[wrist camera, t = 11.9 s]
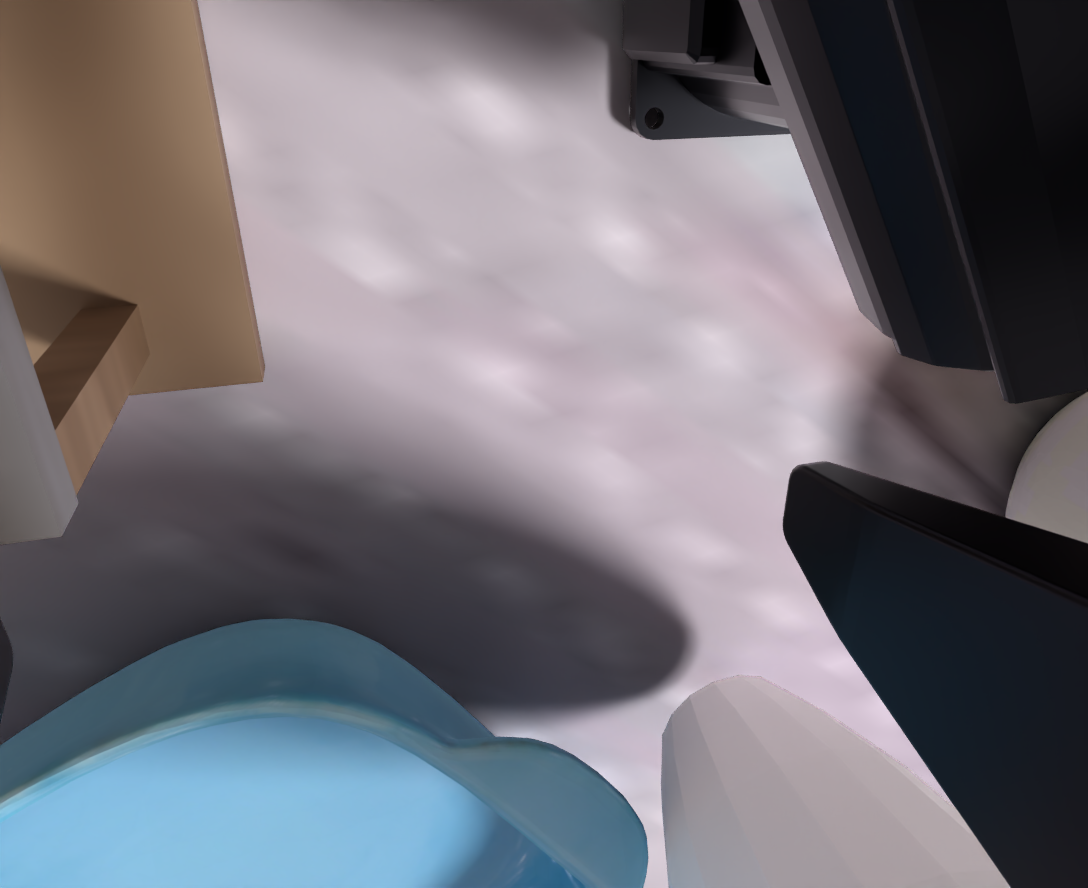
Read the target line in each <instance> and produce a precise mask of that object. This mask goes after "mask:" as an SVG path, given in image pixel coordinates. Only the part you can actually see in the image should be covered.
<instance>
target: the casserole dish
mask: <svg viewBox="0 0 1088 888" xmlns="http://www.w3.org/2000/svg"><path fill="white" fill-rule="evenodd" d="M647 865H648V847H647V837H646V833H645V830H644V827H643V824H642V823H641V821H640V819H639V818H638V816H637V814H636V813H635V811H634V810H633V808H632V807H631V806H630V804H629V803H628V801H627V800H626V799H625V797H624V796H623V795H622V794H621V793H620V792H619V791H618V790H617V789H616V788H614V787H613V786H612V785H611V784H610V783H609V782H608V781H607V780H606V779H605V778H603V777H602V776H601V775H600V774H599V773H598V772H597V771H595V770H594V769H593V768H591V767H590V766H588V765H587V764H586V763H584V762H583V761H581V760H580V759H578V758H577V757H576V756H574V755H572V754H570V753H568V752H567V751H565V750H563V749H561V748H559V747H557V746H555V745H553V744H549V743H546V742H542V741H539V740H535V739H530V738H516V737H495V736H494V735H493V734H492V733H491V732H489V731H488V730H487V729H486V728H485V727H484V726H483V725H482V724H481V723H480V722H479V721H478V720H477V719H475V718H474V717H473V716H472V715H471V714H470V713H469V712H468V711H467V710H466V709H465V708H464V707H462V706H461V705H460V704H459V703H458V702H457V701H456V700H455V699H454V698H452V697H451V696H450V695H449V694H447V693H446V692H445V691H444V690H442V689H441V688H440V687H439V686H438V685H436V684H435V683H434V682H433V681H431V680H430V679H429V678H428V677H426V676H425V675H424V674H423V673H422V672H420V671H419V670H418V669H417V668H415V667H414V666H413V665H411V664H410V663H408V662H407V661H405V660H404V659H402V658H401V657H399V656H398V655H396V654H395V653H393V652H392V651H390V650H389V649H387V648H386V647H384V646H383V645H382V644H380V643H378V642H376V641H374V640H372V639H369V638H367V637H365V636H363V635H361V634H359V633H357V632H355V631H352V630H349V629H346V628H343V627H340V626H337V625H334V624H329V623H324V622H319V621H312V620H301V619H261V620H250V621H246V622H241V623H236V624H231V625H227V626H222V627H219V628H216V629H213V630H210V631H207V632H204V633H201V634H198V635H195V636H192V637H189V638H186V639H184V640H181V641H179V642H176V643H173V644H171V645H168V646H166V647H164V648H162V649H160V650H158V651H156V652H154V653H152V654H150V655H148V656H146V657H144V658H142V659H140V660H138V661H136V662H134V663H132V664H130V665H128V666H127V667H125V668H123V669H121V670H120V671H118V672H116V673H114V674H113V675H111V676H109V677H107V678H105V679H104V680H102V681H100V682H98V683H97V684H95V685H93V686H91V687H90V688H88V689H86V690H85V691H83V692H82V693H80V694H78V695H77V696H75V697H73V698H72V699H70V700H68V701H67V702H65V703H64V704H62V705H61V706H59V707H57V708H56V709H54V710H53V711H51V712H50V713H48V714H47V715H45V716H43V717H42V718H40V719H39V720H37V721H36V722H34V723H33V724H31V725H29V726H28V727H26V728H25V729H23V730H22V731H20V732H19V733H18V734H16V735H15V736H13V737H12V738H10V739H9V740H7V741H6V742H4V743H3V744H2V745H0V888H643V886H644V882H645V878H646V873H647Z"/></svg>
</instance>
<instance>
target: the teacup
mask: <svg viewBox="0 0 1088 888" xmlns="http://www.w3.org/2000/svg"><path fill="white" fill-rule="evenodd" d="M1006 518H1009V519H1012V520H1016V521H1019V522H1022V523H1025V524H1028V525H1032V526H1035V527H1038V528H1041V529H1044V530H1047V531H1051V532H1054V533H1057V534H1060V535H1063V536H1067V537H1070V538H1073V539H1076V540H1079V541H1083V542H1086V543H1088V392H1086V393H1085V394H1083V395H1081V396H1080V397H1078V398H1076V399H1075V400H1073V401H1072V402H1070V403H1069V404H1068V405H1066V406H1065V407H1064V408H1063V409H1061V410H1060V411H1059V412H1058V413H1057V414H1056V415H1054V416H1053V417H1052V418H1051V419H1050V420H1049V422H1048V423H1047V424H1046V425H1045V426H1044V427H1043V428H1042V429H1041V430H1040V432H1039V433H1038V434H1037V435H1036V437H1035V438H1034V439H1033V441H1032V442H1031V444H1030V445H1029V447H1028V448H1027V450H1026V452H1025V454H1024V455H1023V457H1022V460H1021V462H1020V464H1019V466H1018V469H1017V472H1016V475H1015V478H1014V482H1013V485H1012V488H1011V491H1010V494H1009V498H1008V503H1007V508H1006Z"/></svg>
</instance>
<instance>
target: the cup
mask: <svg viewBox="0 0 1088 888" xmlns="http://www.w3.org/2000/svg"><path fill="white" fill-rule="evenodd" d="M661 795H662V814H663V826H664V837H665V849H666V861H667V872H668V884H669V888H1010V886H1009V885H1008V883H1007V882H1006V881H1005V879H1004V878H1003V876H1002V875H1001V873H1000V872H999V870H998V869H997V867H996V866H995V865H994V863H993V862H992V860H991V859H990V857H989V856H988V854H987V853H986V851H985V850H984V849H983V847H982V846H981V844H980V843H979V841H978V840H977V838H976V837H975V835H974V834H973V833H972V831H971V830H970V828H969V827H968V825H967V824H966V822H965V821H964V819H963V818H962V817H961V815H960V814H959V812H958V811H957V809H956V808H954V807H953V806H952V805H951V804H950V803H949V802H947V801H946V800H945V799H944V798H943V797H942V796H940V795H939V794H938V793H937V792H936V791H934V790H933V789H932V788H931V787H930V786H929V785H927V784H926V783H925V782H924V781H923V780H922V779H920V778H919V777H918V776H917V775H916V774H915V773H913V772H912V771H911V770H910V769H909V768H908V767H906V766H905V765H903V764H902V763H900V762H899V761H898V760H896V759H895V758H893V757H892V756H890V755H889V754H887V753H886V752H884V751H883V750H881V749H880V748H878V747H877V746H875V745H874V744H873V743H871V742H870V741H868V740H867V739H865V738H864V737H862V736H861V735H859V734H858V733H856V732H855V731H853V730H852V729H850V728H849V727H848V726H846V725H845V724H843V723H842V722H840V721H839V720H837V719H836V718H834V717H833V716H831V715H830V714H828V713H827V712H825V711H824V710H822V709H820V708H818V707H816V706H814V705H813V704H811V703H809V702H807V701H805V700H804V699H802V698H800V697H798V696H796V695H794V694H792V693H790V692H789V691H787V690H785V689H783V688H781V687H779V686H777V685H776V684H774V683H772V682H770V681H768V680H766V679H764V678H762V677H759V676H743V675H737V676H733V677H730V678H726V679H722V680H718V681H715V682H712V683H710V684H709V685H707V686H705V687H704V688H702V689H700V690H698V691H697V692H695V693H693V694H692V695H690V696H689V697H688V698H687V699H686V700H685V701H684V702H683V703H682V704H681V705H680V706H679V707H678V708H677V709H676V710H675V711H674V713H673V714H672V715H671V717H670V719H669V721H668V723H667V726H666V728H665V730H664V732H663V735H662V768H661Z"/></svg>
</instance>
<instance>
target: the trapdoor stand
mask: <svg viewBox="0 0 1088 888" xmlns="http://www.w3.org/2000/svg"><path fill="white" fill-rule="evenodd" d="M264 371H265V364H264V359H263V354H262V348H261V343H260V337H259V332H258V327H257V321H256V316H255V311H254V305H253V300H252V294H251V289H250V284H249V278H248V273H247V267H246V262H245V257H244V251H243V246H242V240H241V235H240V230H239V224H238V219H237V213H236V208H235V203H234V197H233V192H232V186H231V181H230V176H229V170H228V165H227V159H226V154H225V149H224V143H223V138H222V133H221V127H220V122H219V116H218V111H217V106H216V100H215V95H214V89H213V84H212V79H211V73H210V68H209V62H208V57H207V52H206V46H205V41H204V35H203V30H202V25H201V19H200V14H199V8H198V3H197V0H0V545H4V544H11V543H19V542H26V541H34V540H41V539H49V538H56V537H62V535H63V533H64V531H65V529H66V528H67V526H68V524H69V522H70V520H71V518H72V516H73V514H74V512H75V510H76V508H77V506H78V504H79V502H78V499H77V496H76V495H77V494H78V492H79V490H80V488H81V486H82V484H83V482H84V480H85V478H86V476H87V474H88V472H89V470H90V469H91V467H92V465H93V463H94V461H95V459H96V457H97V455H98V453H99V451H100V449H101V447H102V445H103V443H104V442H105V440H106V438H107V436H108V434H109V432H110V430H111V428H112V426H113V424H114V422H115V420H116V418H117V416H118V415H119V413H120V411H121V409H122V407H123V405H124V403H125V401H126V399H127V397H128V395H138V394H147V393H157V392H167V391H177V390H187V389H197V388H207V387H216V386H226V385H236V384H246V383H256V382H263V377H264Z"/></svg>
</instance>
